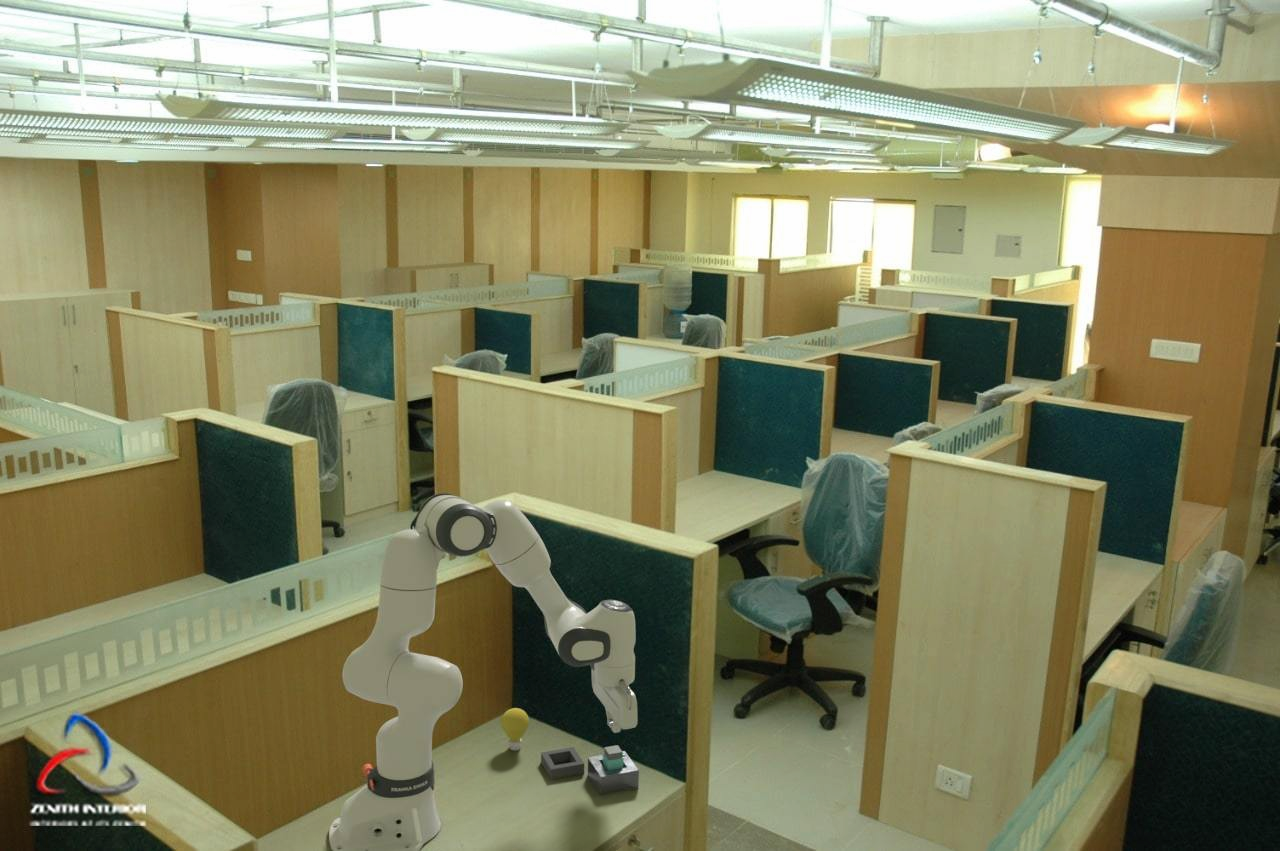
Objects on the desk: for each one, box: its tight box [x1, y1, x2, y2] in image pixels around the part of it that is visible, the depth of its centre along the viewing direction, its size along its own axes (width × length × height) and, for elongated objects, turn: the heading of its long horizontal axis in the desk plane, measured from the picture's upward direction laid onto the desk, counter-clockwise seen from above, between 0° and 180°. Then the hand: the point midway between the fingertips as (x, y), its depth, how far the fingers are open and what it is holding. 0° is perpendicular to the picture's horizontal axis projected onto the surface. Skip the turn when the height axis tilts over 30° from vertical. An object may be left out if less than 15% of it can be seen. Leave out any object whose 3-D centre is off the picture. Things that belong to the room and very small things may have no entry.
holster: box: [540, 746, 585, 780], centre depth 245 cm, size 8×8×2 cm
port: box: [587, 750, 640, 796], centre depth 239 cm, size 9×9×5 cm
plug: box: [602, 744, 624, 771], centre depth 239 cm, size 4×4×8 cm
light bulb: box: [500, 707, 530, 751], centre depth 253 cm, size 7×7×10 cm
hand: (613, 728), depth 237 cm, fingers closed
